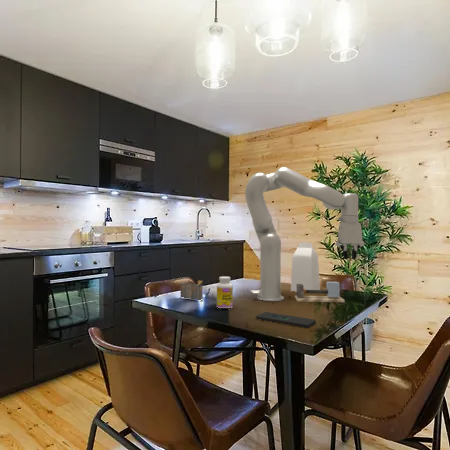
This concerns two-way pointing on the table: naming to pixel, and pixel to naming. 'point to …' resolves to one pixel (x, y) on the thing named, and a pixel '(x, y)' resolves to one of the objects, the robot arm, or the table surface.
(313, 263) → the milk
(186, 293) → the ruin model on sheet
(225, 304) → the supplement bottle
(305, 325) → the dark grey flat block
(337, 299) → the board
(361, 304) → the table surface
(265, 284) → the robot arm
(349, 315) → the table surface
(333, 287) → the sleeve
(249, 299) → the table surface
